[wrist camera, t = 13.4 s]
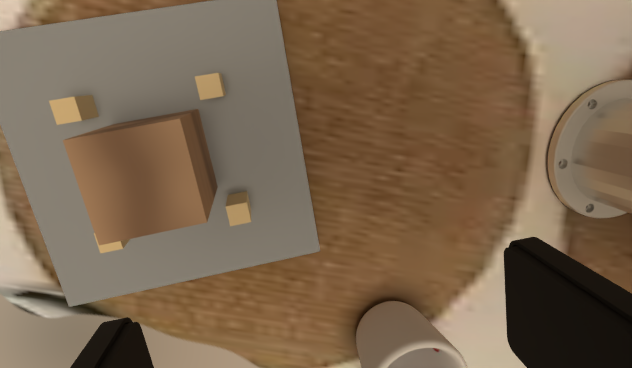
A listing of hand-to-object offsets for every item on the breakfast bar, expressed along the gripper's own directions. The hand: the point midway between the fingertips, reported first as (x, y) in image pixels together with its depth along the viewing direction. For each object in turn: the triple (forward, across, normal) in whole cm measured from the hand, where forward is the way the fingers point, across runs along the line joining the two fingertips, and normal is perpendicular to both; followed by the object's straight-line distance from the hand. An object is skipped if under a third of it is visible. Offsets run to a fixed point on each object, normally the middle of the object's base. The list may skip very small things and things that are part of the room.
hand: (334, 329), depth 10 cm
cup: (+24, -7, +19) cm, 31 cm away
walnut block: (+21, +9, -2) cm, 23 cm away
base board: (+23, +9, -2) cm, 25 cm away
